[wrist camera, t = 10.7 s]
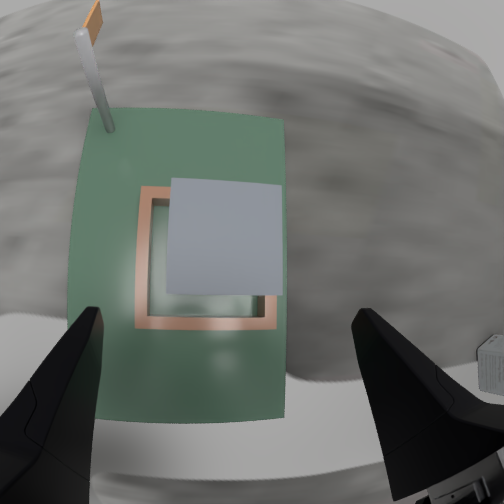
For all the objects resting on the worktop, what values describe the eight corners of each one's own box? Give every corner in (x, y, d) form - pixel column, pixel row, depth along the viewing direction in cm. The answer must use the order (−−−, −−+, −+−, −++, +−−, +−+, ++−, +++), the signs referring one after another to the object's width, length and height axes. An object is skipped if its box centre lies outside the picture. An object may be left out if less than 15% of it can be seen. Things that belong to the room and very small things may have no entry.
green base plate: (282, 416, 22) (355, 489, 11) (76, 414, 19) (18, 491, 8) (282, 111, 25) (339, 24, 14) (95, 100, 22) (66, 3, 11)
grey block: (237, 293, 22) (282, 295, 13) (171, 292, 21) (165, 293, 12) (237, 229, 23) (281, 185, 13) (173, 226, 22) (171, 177, 12)
